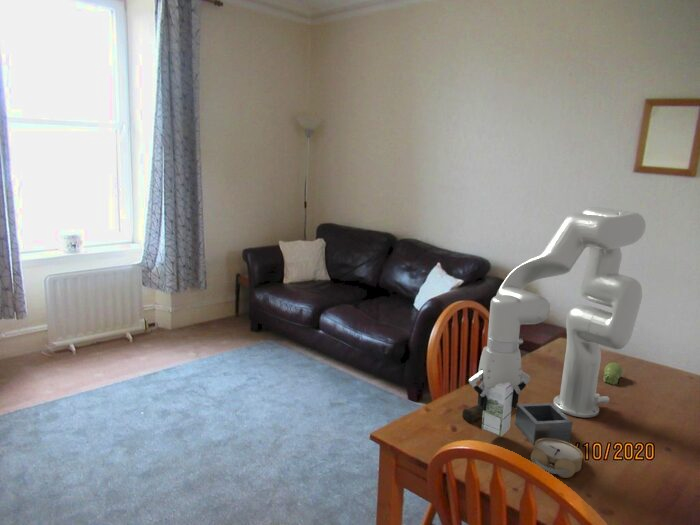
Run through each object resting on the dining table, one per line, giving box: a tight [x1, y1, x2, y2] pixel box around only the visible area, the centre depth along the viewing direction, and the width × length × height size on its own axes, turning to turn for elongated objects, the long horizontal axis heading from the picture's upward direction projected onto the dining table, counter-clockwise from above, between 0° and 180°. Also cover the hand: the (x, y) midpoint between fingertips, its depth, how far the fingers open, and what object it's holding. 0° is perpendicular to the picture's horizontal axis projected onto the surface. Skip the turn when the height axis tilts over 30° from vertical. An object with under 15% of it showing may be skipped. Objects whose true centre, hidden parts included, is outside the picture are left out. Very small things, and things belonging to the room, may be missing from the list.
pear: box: [602, 362, 624, 386], centre depth 176 cm, size 6×5×10 cm
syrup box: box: [481, 382, 513, 437], centre depth 135 cm, size 6×6×14 cm
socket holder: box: [514, 402, 574, 446], centre depth 140 cm, size 10×10×6 cm
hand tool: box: [461, 404, 483, 424], centre depth 150 cm, size 19×4×5 cm, turn 125°
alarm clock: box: [530, 438, 584, 479], centre depth 127 cm, size 11×5×15 cm
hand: (497, 406), depth 136 cm, fingers closed on syrup box, 7 cm apart
